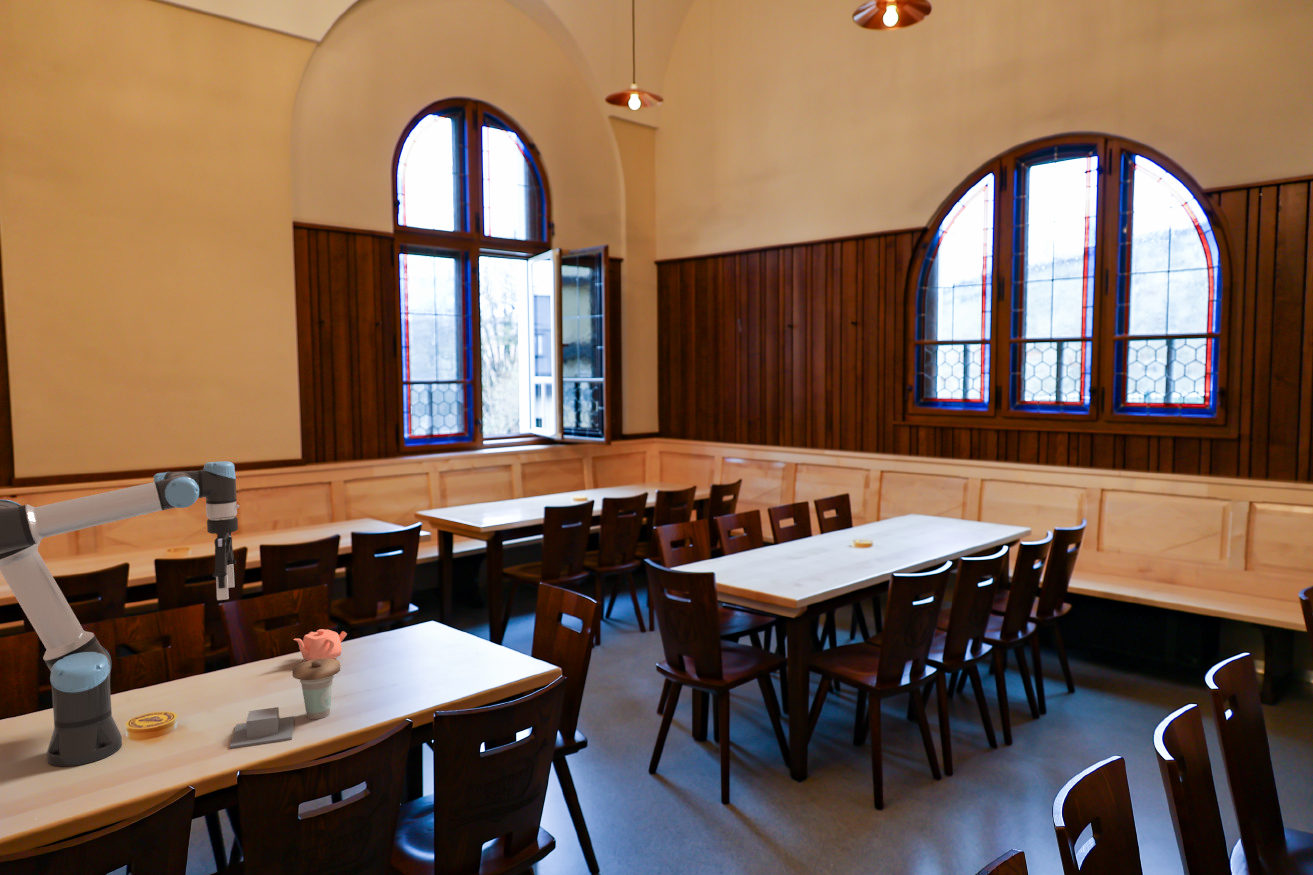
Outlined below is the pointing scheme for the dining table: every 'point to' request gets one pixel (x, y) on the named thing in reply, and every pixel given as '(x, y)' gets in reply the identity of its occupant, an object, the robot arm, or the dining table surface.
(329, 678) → the coffee cup
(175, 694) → the dining table surface
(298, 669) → the lid
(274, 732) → the grey stepped base plate
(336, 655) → the teapot
